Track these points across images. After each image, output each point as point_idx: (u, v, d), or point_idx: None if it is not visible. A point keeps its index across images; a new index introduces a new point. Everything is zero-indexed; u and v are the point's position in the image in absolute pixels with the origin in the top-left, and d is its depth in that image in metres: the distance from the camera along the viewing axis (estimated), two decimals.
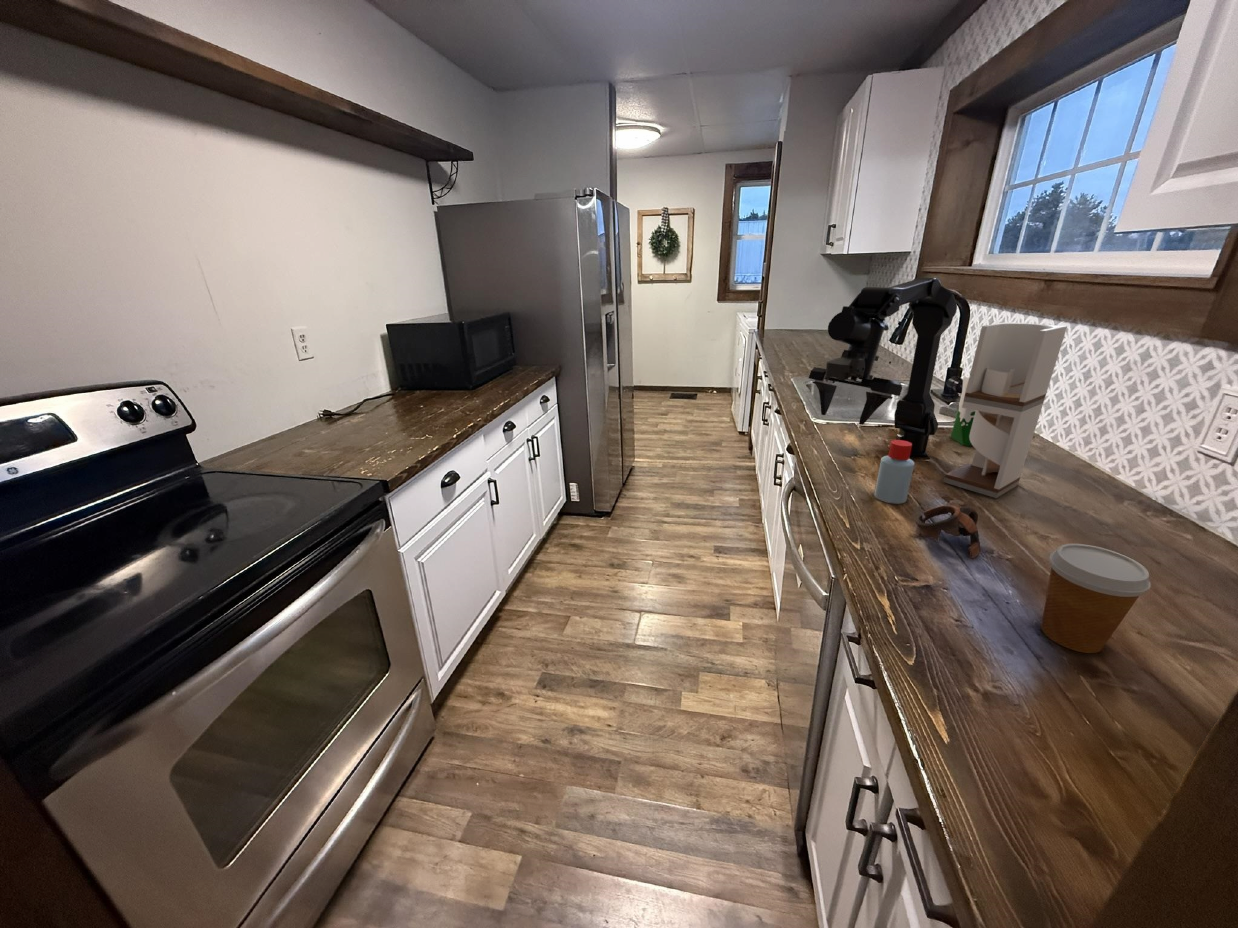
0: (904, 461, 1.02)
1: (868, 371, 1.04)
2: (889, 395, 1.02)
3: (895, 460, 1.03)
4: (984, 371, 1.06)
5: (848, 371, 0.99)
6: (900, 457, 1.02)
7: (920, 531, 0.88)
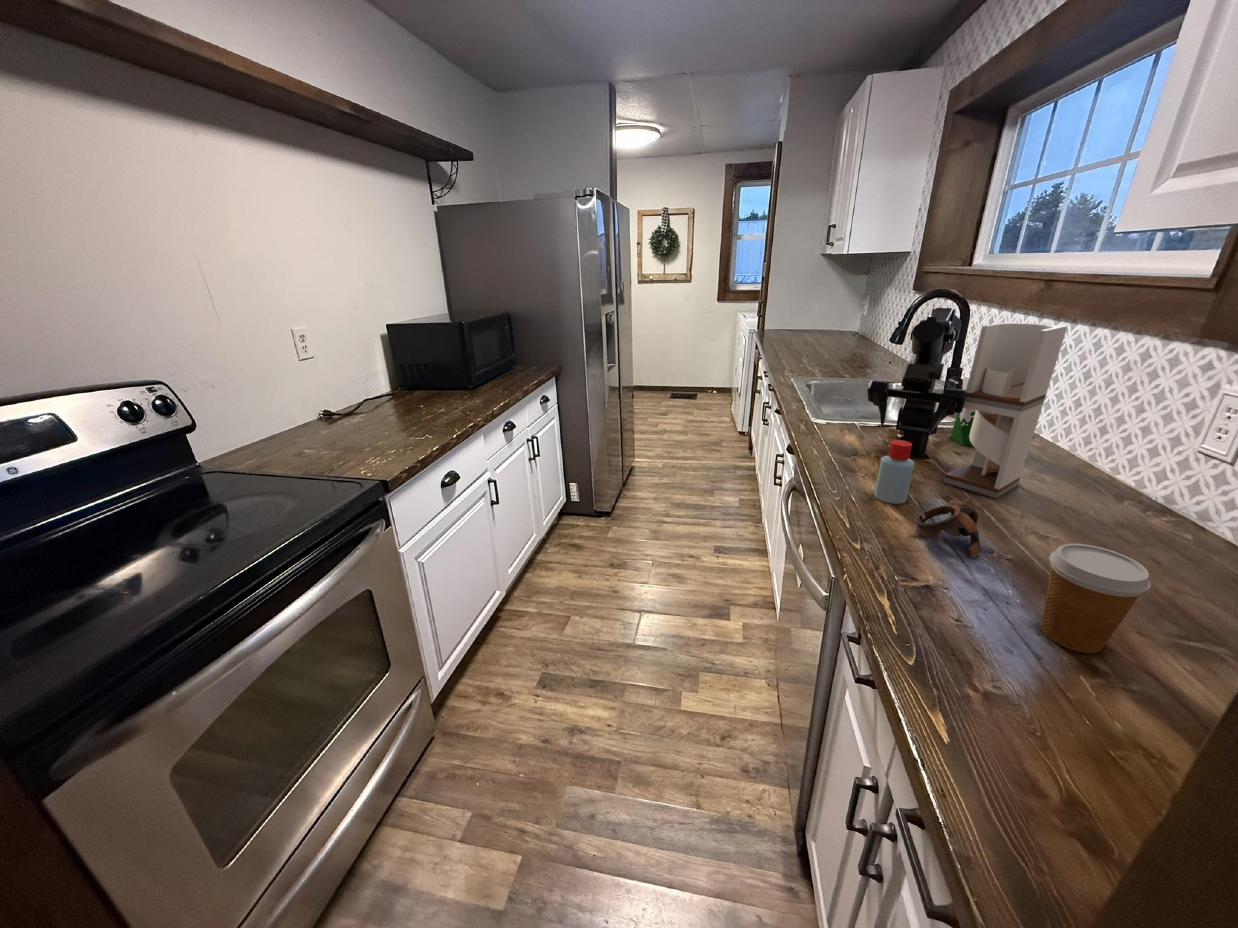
0: (904, 461, 1.02)
1: (932, 387, 1.09)
2: (954, 409, 1.06)
3: (895, 460, 1.03)
4: (984, 371, 1.06)
5: (934, 371, 1.02)
6: (900, 457, 1.02)
7: (920, 531, 0.88)
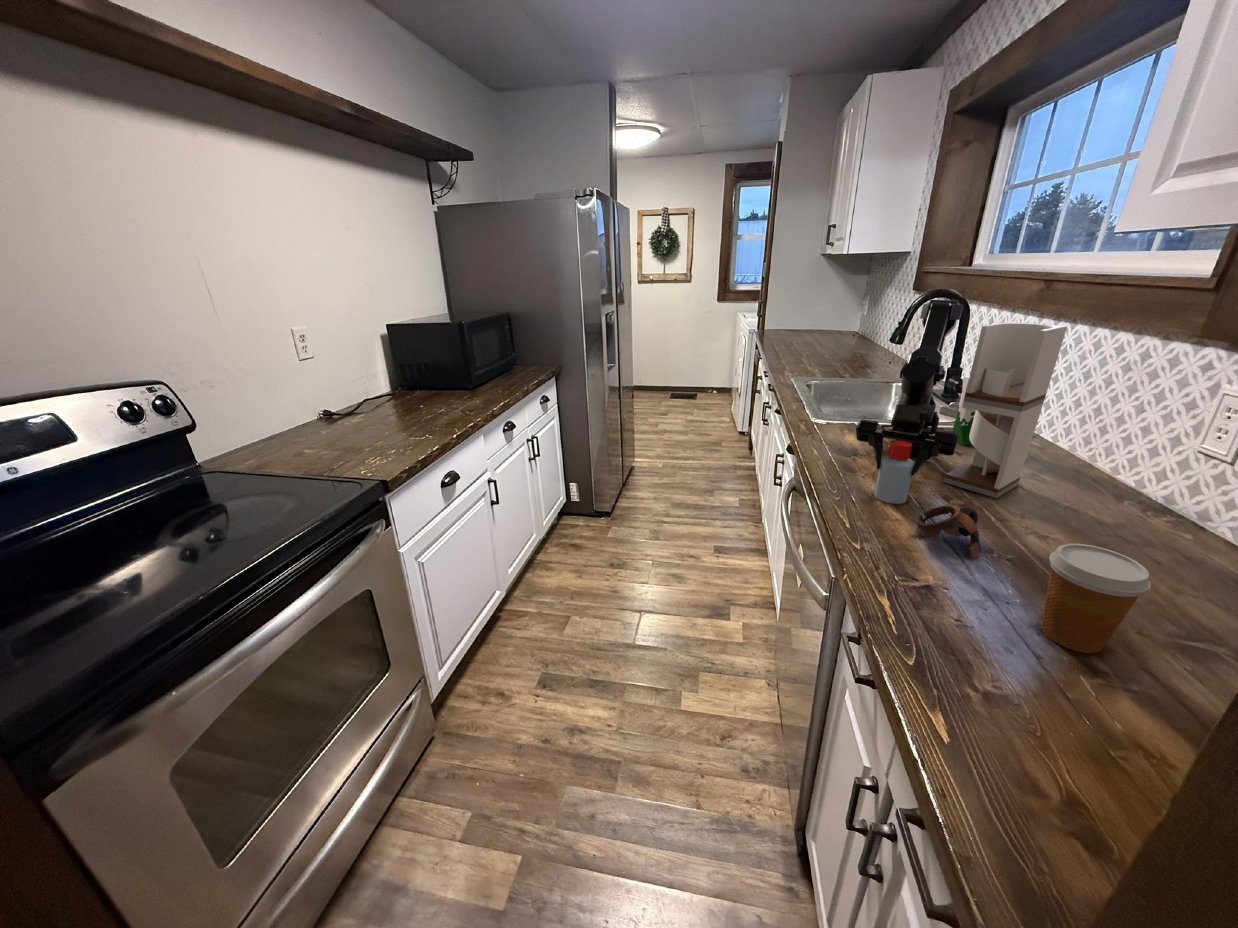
0: (904, 461, 1.02)
1: (922, 428, 1.05)
2: (938, 450, 1.03)
3: (895, 460, 1.03)
4: (984, 371, 1.06)
5: (925, 413, 0.98)
6: (900, 457, 1.02)
7: (921, 531, 0.88)
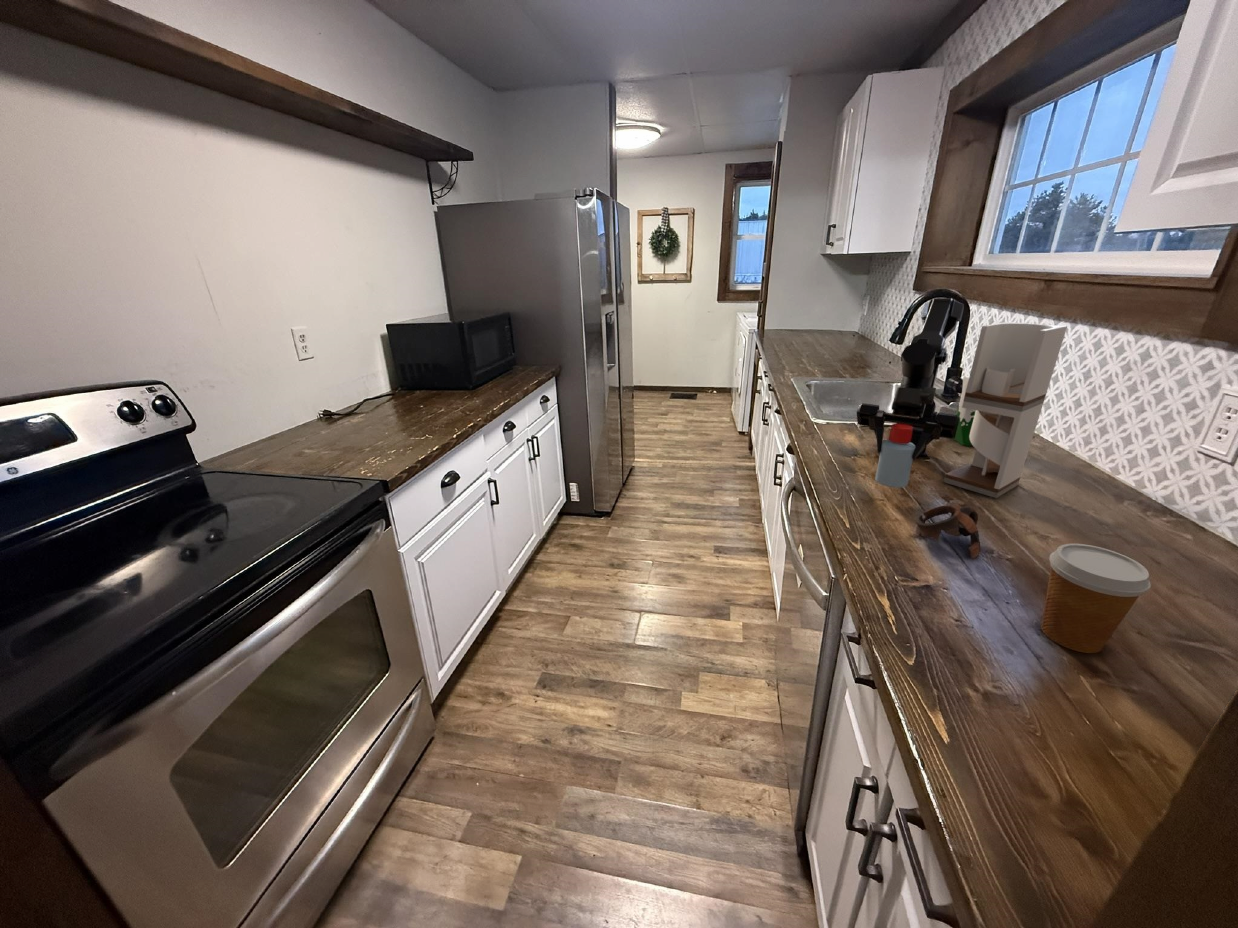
0: (905, 445, 1.02)
1: (923, 411, 1.04)
2: (939, 433, 1.02)
3: (896, 444, 1.02)
4: (984, 371, 1.06)
5: (926, 395, 0.97)
6: (901, 440, 1.01)
7: (921, 531, 0.88)
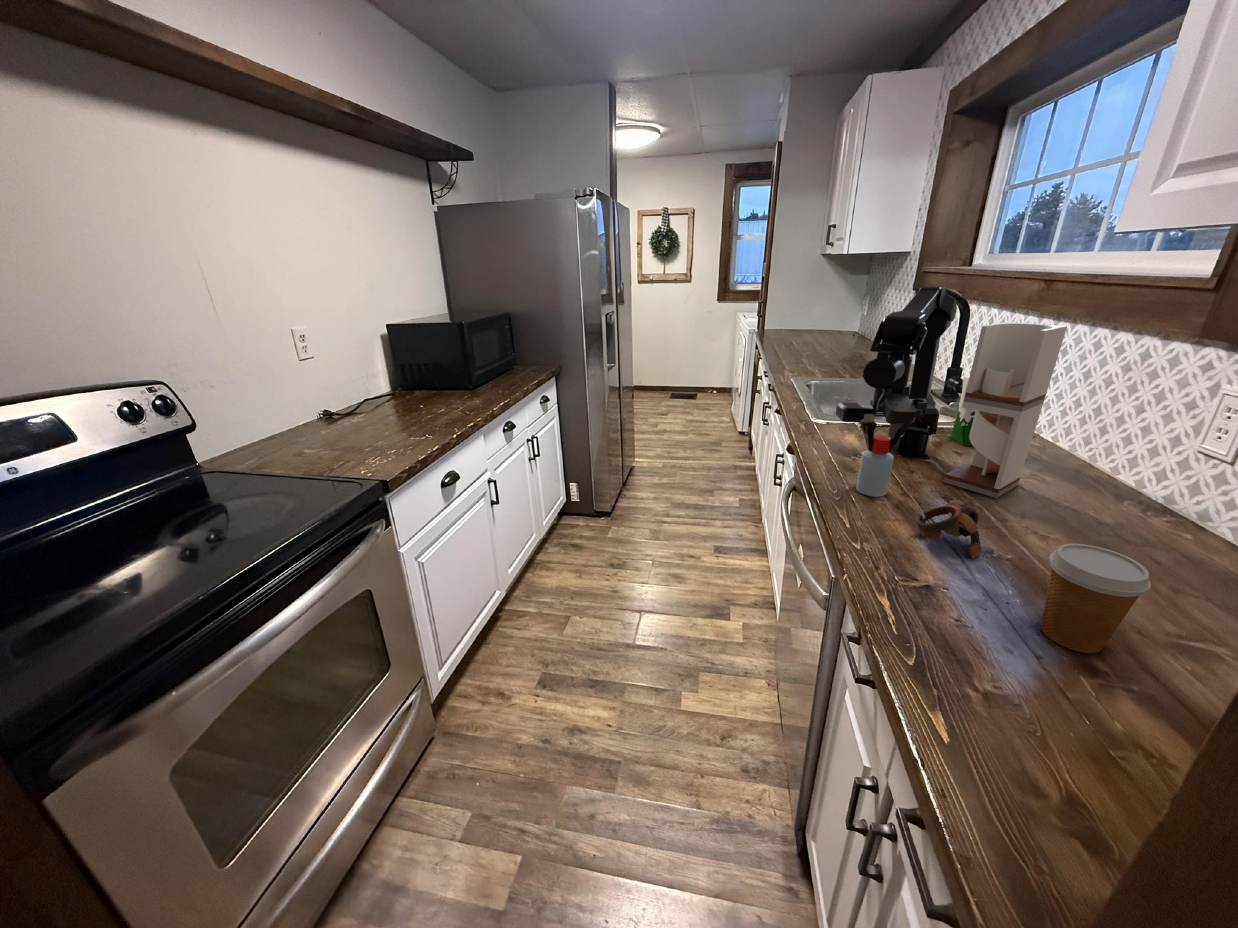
0: (883, 455, 1.06)
1: None
2: None
3: (875, 454, 1.06)
4: (984, 371, 1.06)
5: (920, 416, 0.95)
6: (879, 451, 1.05)
7: (921, 531, 0.88)
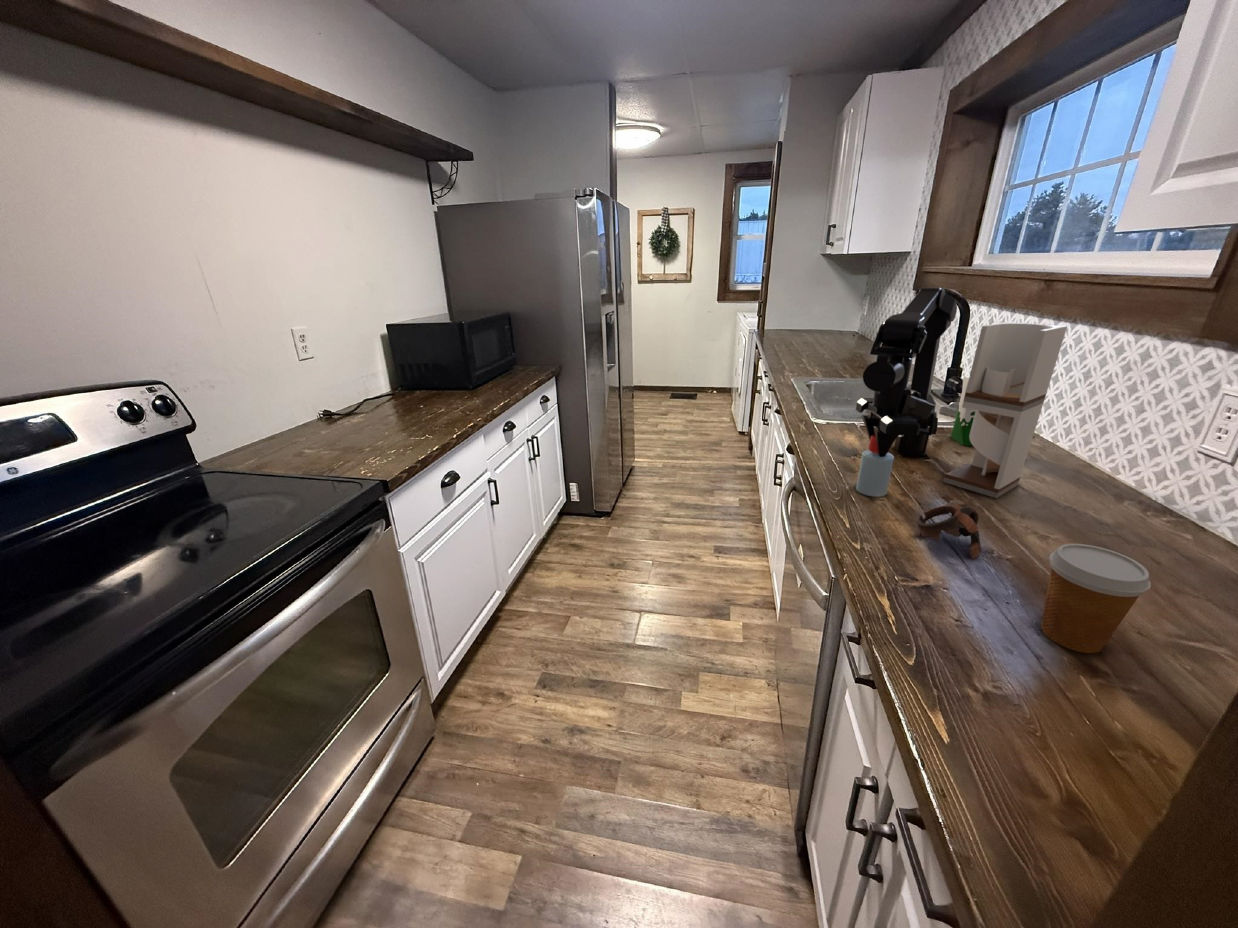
0: None
1: None
2: None
3: (875, 454, 1.06)
4: (984, 371, 1.06)
5: None
6: (889, 449, 1.06)
7: (921, 531, 0.88)
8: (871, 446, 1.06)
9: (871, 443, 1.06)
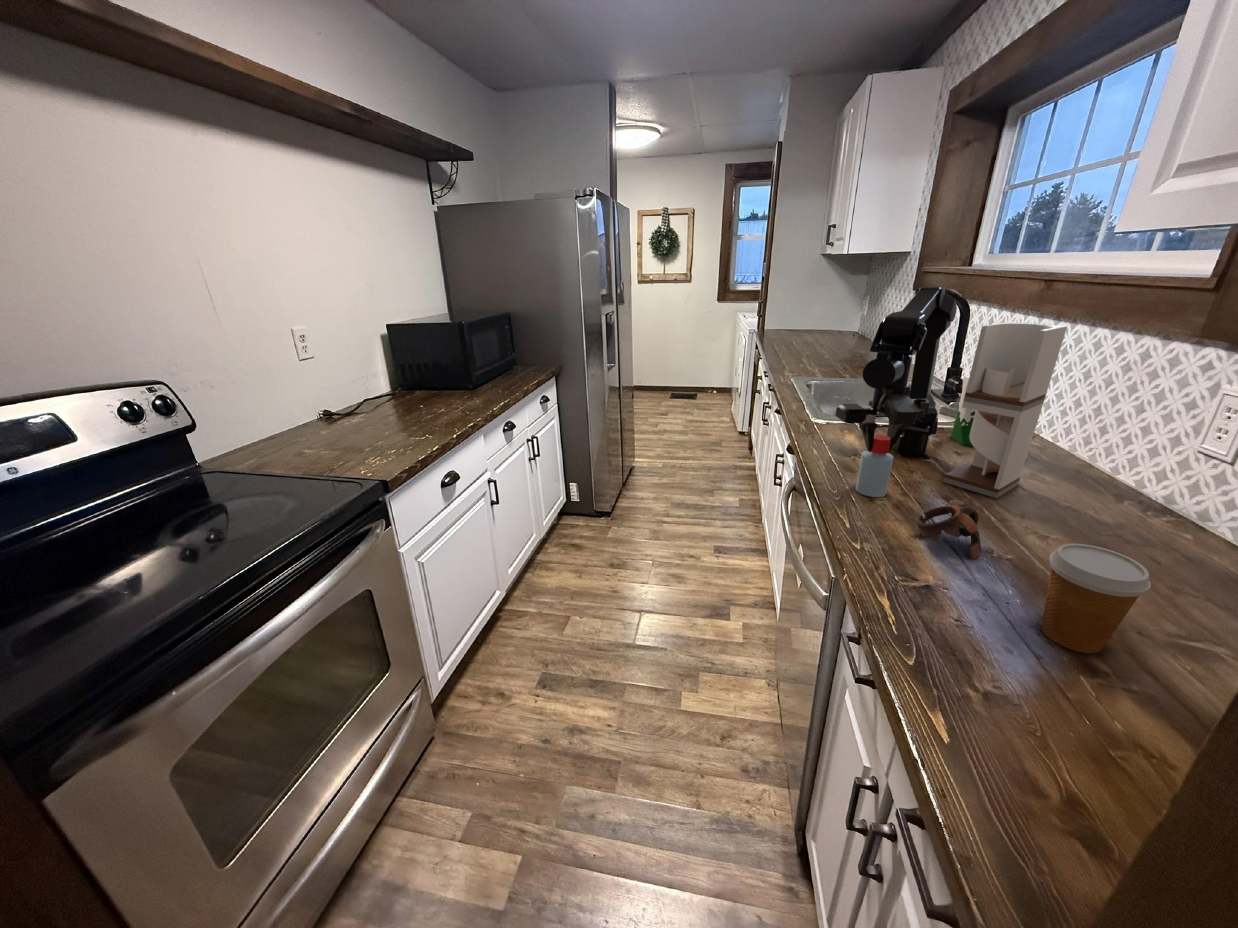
0: (883, 455, 1.05)
1: None
2: None
3: (874, 454, 1.06)
4: (984, 371, 1.06)
5: (923, 416, 0.95)
6: None
7: (921, 532, 0.88)
8: None
9: None
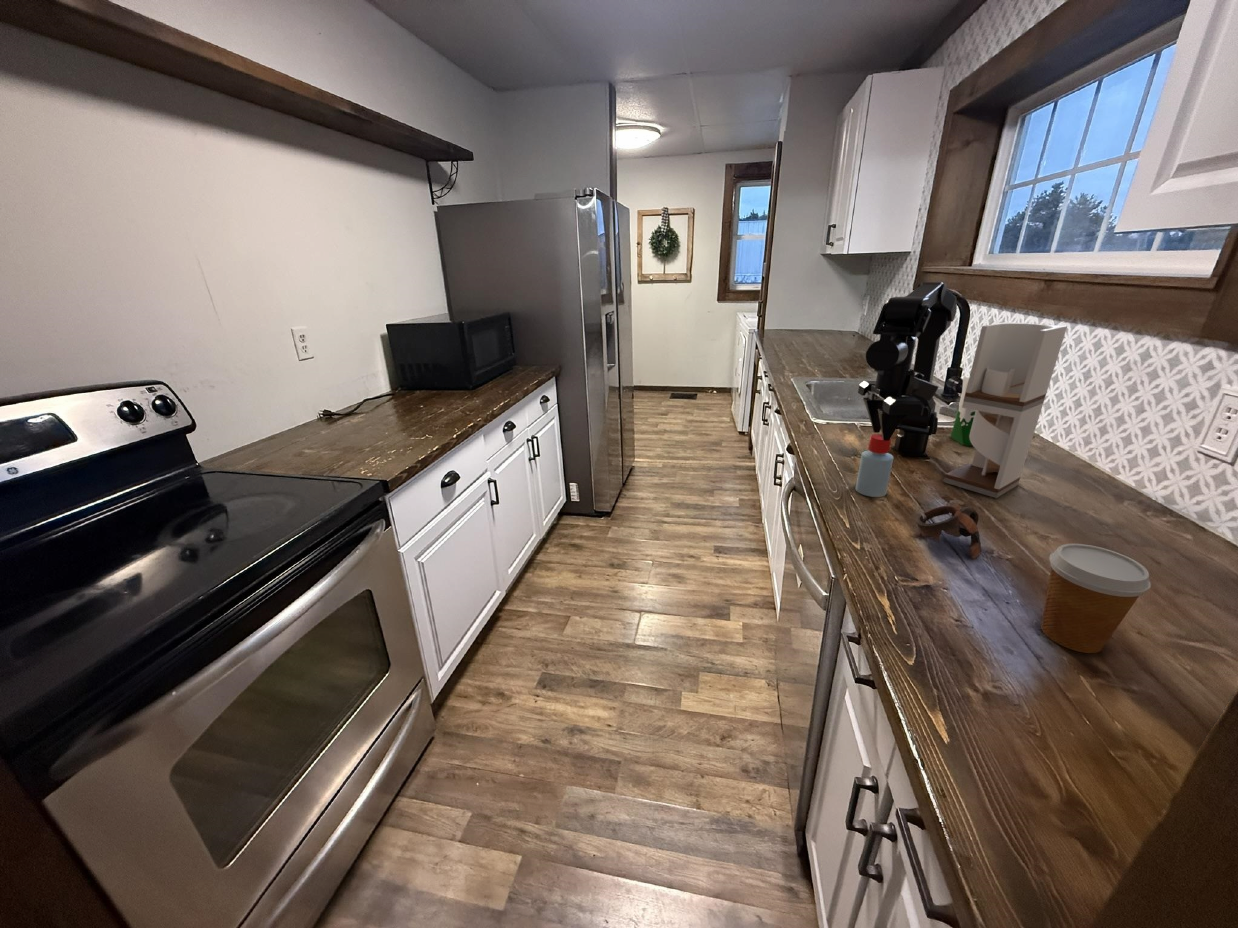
0: (883, 455, 1.05)
1: None
2: None
3: (874, 454, 1.06)
4: (984, 371, 1.06)
5: None
6: None
7: (921, 532, 0.88)
8: (885, 448, 1.04)
9: (884, 445, 1.04)
